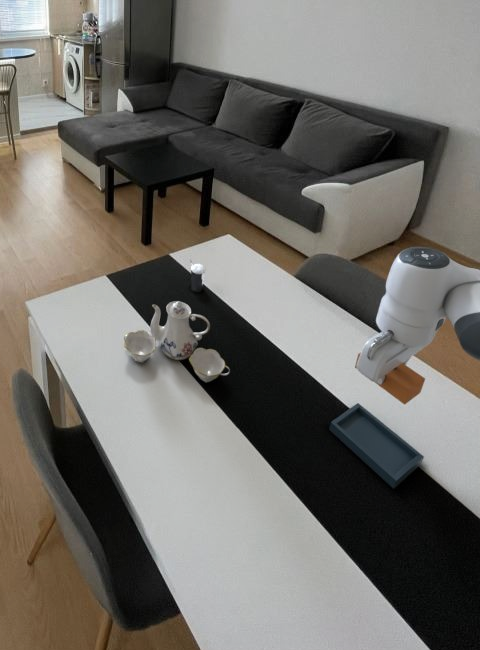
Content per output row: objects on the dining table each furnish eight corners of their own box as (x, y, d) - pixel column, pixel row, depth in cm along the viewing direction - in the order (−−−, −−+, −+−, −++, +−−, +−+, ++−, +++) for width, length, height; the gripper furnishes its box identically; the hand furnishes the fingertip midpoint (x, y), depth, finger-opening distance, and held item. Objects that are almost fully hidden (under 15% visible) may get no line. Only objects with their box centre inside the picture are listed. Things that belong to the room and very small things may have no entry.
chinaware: (118, 372, 114) (115, 330, 106) (130, 322, 128) (128, 281, 120) (228, 397, 106) (234, 353, 98) (228, 341, 119) (233, 298, 112)
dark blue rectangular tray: (421, 464, 88) (424, 456, 87) (393, 489, 84) (396, 481, 83) (355, 410, 99) (357, 402, 98) (328, 429, 96) (330, 422, 95)
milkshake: (193, 281, 143) (194, 256, 140) (206, 289, 140) (208, 264, 136) (184, 287, 141) (186, 262, 137) (198, 295, 137) (200, 270, 133)
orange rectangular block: (420, 392, 86) (426, 375, 85) (404, 404, 84) (410, 387, 82) (370, 357, 95) (374, 340, 93) (354, 367, 93) (359, 350, 91)
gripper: (389, 355, 77) (373, 408, 82) (451, 314, 85) (432, 365, 90) (355, 331, 82) (341, 383, 87) (416, 295, 90) (400, 344, 95)
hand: (388, 373), depth 89 cm, fingers closed on orange rectangular block, 5 cm apart
